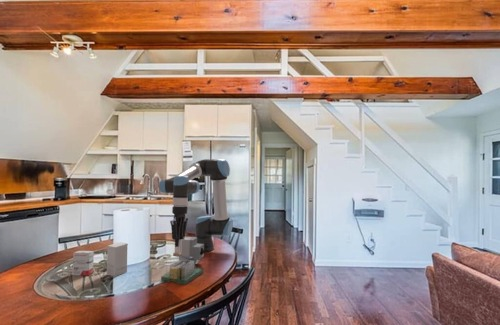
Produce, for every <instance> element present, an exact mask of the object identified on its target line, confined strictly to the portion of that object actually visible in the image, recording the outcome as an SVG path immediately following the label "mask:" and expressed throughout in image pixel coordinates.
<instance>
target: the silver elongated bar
mask: <svg viewBox="0 0 500 325" xmlns="http://www.w3.org/2000/svg"><path fill="white" fill-rule="evenodd" d="M172 254H173V255H172V257H177V258H179V257H181V258H186V259H188V260H194V257H188V256H183V255H181V254H180V253H175V252H173V253H172Z"/></svg>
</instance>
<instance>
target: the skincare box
mask: <svg viewBox="0 0 500 325" xmlns="http://www.w3.org/2000/svg"><path fill="white" fill-rule="evenodd" d="M128 245H129V244H128V243H126V242H121V241H119V242H115V243H112V244H109V245H107V255H106V275H107V276H111V277H114V278H115V277H118V276H120V275H122V274H125V273H127V272H128Z"/></svg>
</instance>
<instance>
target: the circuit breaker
mask: <svg viewBox="0 0 500 325" xmlns="http://www.w3.org/2000/svg"><path fill="white" fill-rule="evenodd" d="M183 238H184V239H182V252H181V253H180V254H181V255H183V256H188V257H194V260H191V261H195V264H196V263H197V261H199V260H201V259H202V258H204V254H205V253H206V251H205V250H204V244H197V237H196V236H185V237H183ZM179 260H183V263H185V261H186V260H188V259H186V258H181V257H178V261H179Z"/></svg>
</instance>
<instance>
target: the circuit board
mask: <svg viewBox="0 0 500 325" xmlns="http://www.w3.org/2000/svg"><path fill="white" fill-rule="evenodd" d="M203 273H204V268H199V267H196V263H195V261H191V260H186V261H185V263H183V260H179V259H178V260H177V261H175V262H173V263H171V264H170V265H169V272H167V273H165V274H163V275H162V276H160V281H161V282H168V283H175V284H180V285H185V286H186V285H188V284H189V283H191V281H193V280H194V279H196V278H197V277H199V276H200V275H202V274H203Z"/></svg>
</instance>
